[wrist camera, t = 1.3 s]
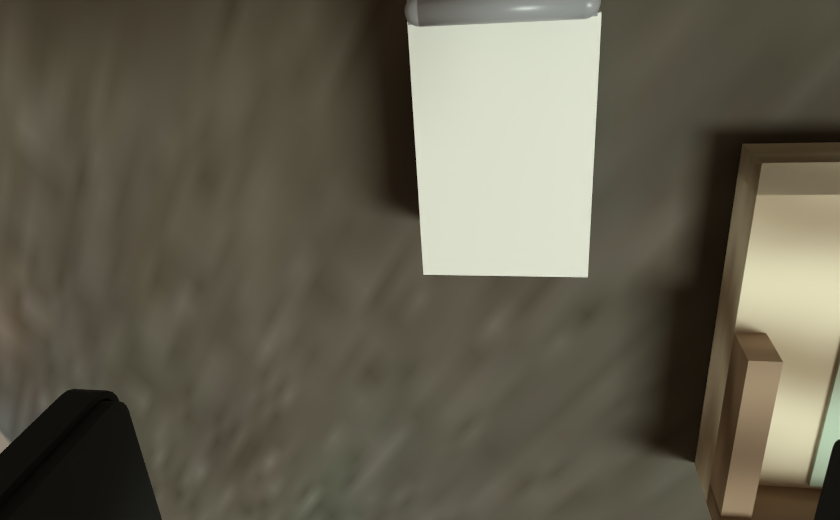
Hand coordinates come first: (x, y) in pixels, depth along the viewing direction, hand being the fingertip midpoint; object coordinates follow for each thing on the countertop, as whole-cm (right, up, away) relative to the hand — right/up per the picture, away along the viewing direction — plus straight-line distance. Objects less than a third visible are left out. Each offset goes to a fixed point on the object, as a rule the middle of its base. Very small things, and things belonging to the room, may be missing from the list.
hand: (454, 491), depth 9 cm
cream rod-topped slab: (+3, +9, +18) cm, 20 cm away
